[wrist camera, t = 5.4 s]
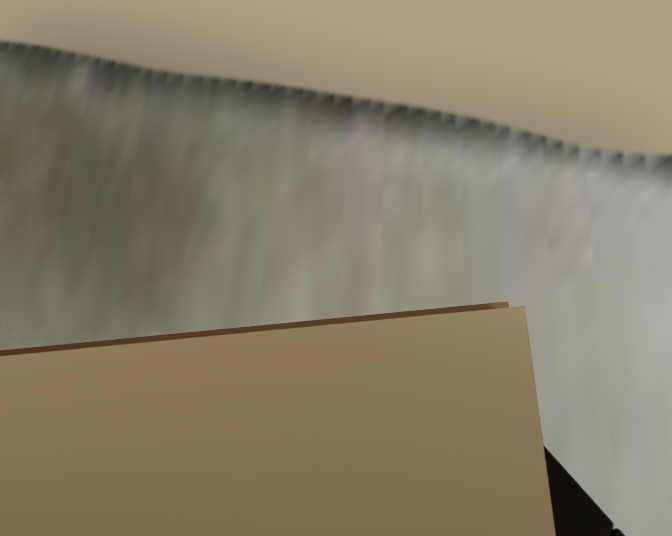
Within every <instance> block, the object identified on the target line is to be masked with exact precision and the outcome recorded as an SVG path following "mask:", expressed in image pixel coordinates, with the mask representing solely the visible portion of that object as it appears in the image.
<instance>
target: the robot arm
mask: <svg viewBox="0 0 672 536" xmlns="http://www.w3.org/2000/svg"><path fill="white" fill-rule="evenodd" d="M543 446H544V445H543ZM544 453H545V461H546V468H547V475H548V483H549V490H550V497H551V505H552V512H553V519H554V527H555V534H556V536H625V535H624V534H623V533H622V532H621V530H619V529H617V528H615V529H613V527H614V524H613V522H612V521H611V520H610V519H609V518H608V516H607V515H606V514H605V513H604V512H603V511H602V510H601V509H600V508H599V506H598V505H597V504H596V503H595V502H594V501H593V500H592V499H591V497H590V496H589V495H588V494H587V493H586V492H585V491H584V490H583V489H582V487H581V486H580V485H579V484H578V483H577V482H576V481H575V480H574V479H573V477H572V476H571V475H570V474H569V473H568V472H567V471H566V470H565V469H564V467H563V466H562V465H561V464H560V463H559V462H558V461H557V460H556V458H555V457H554V456H553V455H552V454H551V453H550V452H549V451H548V450H547V448H546V447H545V446H544Z"/></svg>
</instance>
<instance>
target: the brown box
mask: <svg viewBox="0 0 672 536" xmlns="http://www.w3.org/2000/svg"><path fill="white" fill-rule="evenodd" d="M0 536H556V534H555V527H554V519H553V512H552V505H551V497H550V490H549V483H548V475H547V468H546V461H545V453H544V446H543V438H542V431H541V424H540V416H539V409H538V402H537V394H536V387H535V379H534V372H533V365H532V357H531V350H530V343H529V335H528V328H527V320H526V313H525V306H519V307H509V305H508V302H499V303H489V304H479V305H468V306H458V307H447V308H437V309H427V310H416V311H406V312H396V313H385V314H375V315H365V316H354V317H344V318H333V319H323V320H313V321H302V322H292V323H282V324H271V325H261V326H251V327H240V328H230V329H219V330H209V331H199V332H188V333H178V334H168V335H157V336H147V337H137V338H126V339H116V340H105V341H95V342H85V343H74V344H64V345H54V346H43V347H33V348H23V349H12V350H2V351H0Z"/></svg>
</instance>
